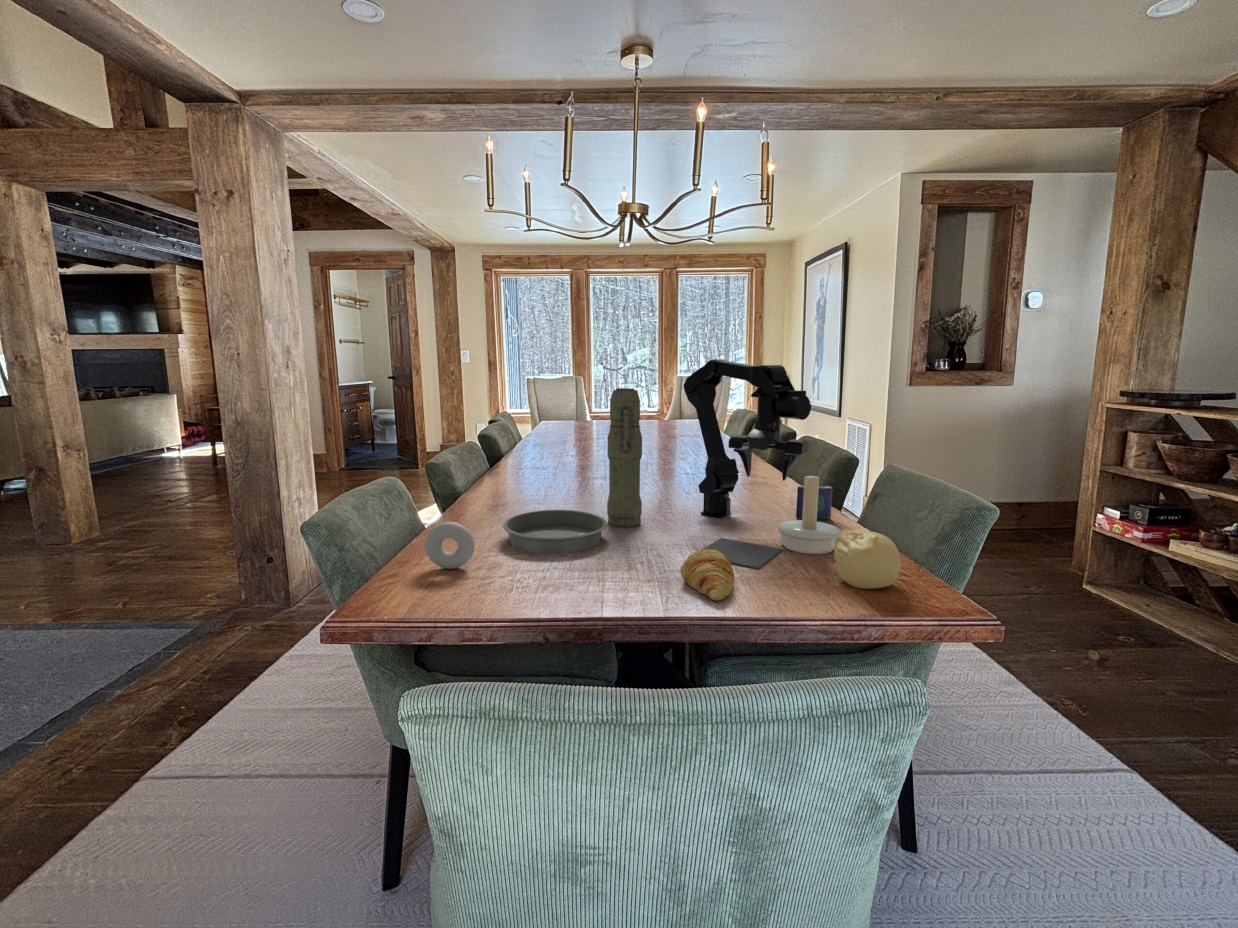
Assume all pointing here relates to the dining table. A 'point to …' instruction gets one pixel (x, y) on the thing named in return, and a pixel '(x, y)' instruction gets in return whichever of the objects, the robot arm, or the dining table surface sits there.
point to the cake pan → (554, 530)
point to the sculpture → (866, 559)
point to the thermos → (624, 459)
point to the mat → (745, 552)
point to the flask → (823, 503)
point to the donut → (446, 558)
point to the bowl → (807, 545)
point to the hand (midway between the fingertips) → (765, 478)
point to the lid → (809, 517)
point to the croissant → (709, 573)
